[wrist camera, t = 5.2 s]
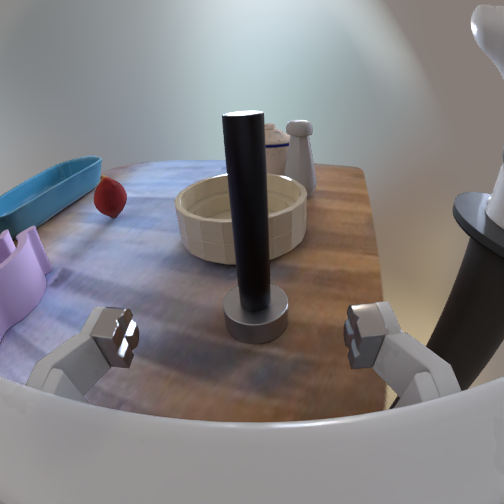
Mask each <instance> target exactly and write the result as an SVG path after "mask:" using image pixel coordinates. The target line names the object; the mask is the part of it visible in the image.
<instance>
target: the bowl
mask: <svg viewBox="0 0 504 504" xmlns="http://www.w3.org/2000/svg"><path fill="white" fill-rule="evenodd" d="M267 194H268V222H269V253H270V260H271V259H274V258H277V257H279V256H281V255H283V254H285V253H288V252H290V251H291V250H293V249H294V248H295V247H296V246H297V245H298V244H299V243H300V242H302V240H303V238H304V235H305V232H306V218H307V192H306V190H305V187H304V186H303V185H302V184H300V183H299V182H298V181H296V180H294V179H291V178H288V177H286V176H282V175H277V174H271V173H267ZM175 207H176V213H177V218H178V224H179V229H180V234H181V239H182V244H183V246H184V247H185V248H186V249H187V250H188V251H189V252H190V253H191V254H192V255H195V256H197V257H199V258H201V259H203V260H206V261H210V262H216V263H222V264H236V259H235V250H234V240H233V230H232V220H231V210H230V200H229V189H228V179H227V174H225V175H219V176H214V177H211V178H207V179H204V180H201V181H199V182H196V183H194V184H192V185H190V186H188V187H187V188H185V189H184V190H182V191H181V192H180V193H179V194H178V196H177V197H176V199H175Z"/></svg>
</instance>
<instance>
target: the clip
mask: <svg viewBox="0 0 504 504" xmlns="http://www.w3.org/2000/svg"><path fill="white" fill-rule="evenodd" d="M16 238H17V241H18V245H17V247H16V248H15V245H14V243H13V241H12V238H11V236H10V233H9V230H8V229H7V230H5V231H3V232H2V233H1V235H0V342H1V339H2V337H3V335H4V334H5V332H6V331H7V330H8V329H9V328H10V327H12V326H13V325H15V324H16V323H18V322H19V321H21V320H22V319H23V318H25V317H26V316H27V315H28V314H29V313H30V312H31V311H32V310H33V309H34V308H35V307H36V306H37V305H38V303H39V302H40V300H41V299H42V297H43V295H44V293H45V290H46V286H47V281H46V278H45V275H46V274H47V273H49V272H51V271H52V267H51V265H50V262H49V260H48V258H47V255H46V253H45V250H44V248H43V246H42V243H41V240H40V238H39V235H38V233H37V230H36V227H35V226H31V227H29V228H28V229H26V230H24V231H22V232H21V233H19V234H18V235H17V236H16Z"/></svg>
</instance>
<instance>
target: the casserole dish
mask: <svg viewBox="0 0 504 504" xmlns="http://www.w3.org/2000/svg"><path fill="white" fill-rule="evenodd" d="M101 162H102V158H101V157H96V156H85V157H80V158H76V159H72V160H69V161H65V162H63V163H60V164H57V165H55V166H52V167H50V168H48V169H46V170H45V171H43V172H41V173H39V174H37V175H35V176H33V177H32V178H30V179H28V180H26V181H24V182H23V183H21V184H19V185H18V186H16V187H14V188H12V189H11V190H9V191H8V192H6V193H4V194H3V195H1V196H0V235H1V233H2V232H3V231H5V230H7V229H8V230H9V233H10V236H11V238H12V239H17V238H16V236H17V235H18V234H19V233H21V232H22V231H24V230H26V229H28V228H29V227H31V226H35V227H36V228H37V227H39V226H40V225H42V224H43V223H45V222H46V221H47V220H49V219H50V218H52V217H53V216H54V215H56V214H57V213H59V212H60V211H62V210H63V209H64V208H66V207H67V206H69V205H70V204H72V203H73V202H75V201H76V200H78V199H79V198H81V197H82V196H84V195H85V194H87V193H88V192H90V191H91V190H92V189H94V188H95V186H96V185H97V183H98V182H99V179H100V174H101Z"/></svg>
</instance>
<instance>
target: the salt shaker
mask: <svg viewBox="0 0 504 504" xmlns="http://www.w3.org/2000/svg"><path fill="white" fill-rule="evenodd" d="M286 132H287V134H288V135H290V140H289V147H288V153H287V159H286V165H285V172H284V176H286V177H288V178H291V179H294V180H296V181H298V182H299V183H300V184H302V185H303V186H304V187H305V190H306V192H307V198H310V196H311V194H312V193H313V191H314V189H315V187H316V184H317V182H316V175H315V169H314V163H313V156H312V150H311V144H310V138H309V135H312V133H313V127H312V124H311V122H309V121H305V120H293V121H289V122H288V123H287V126H286Z"/></svg>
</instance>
